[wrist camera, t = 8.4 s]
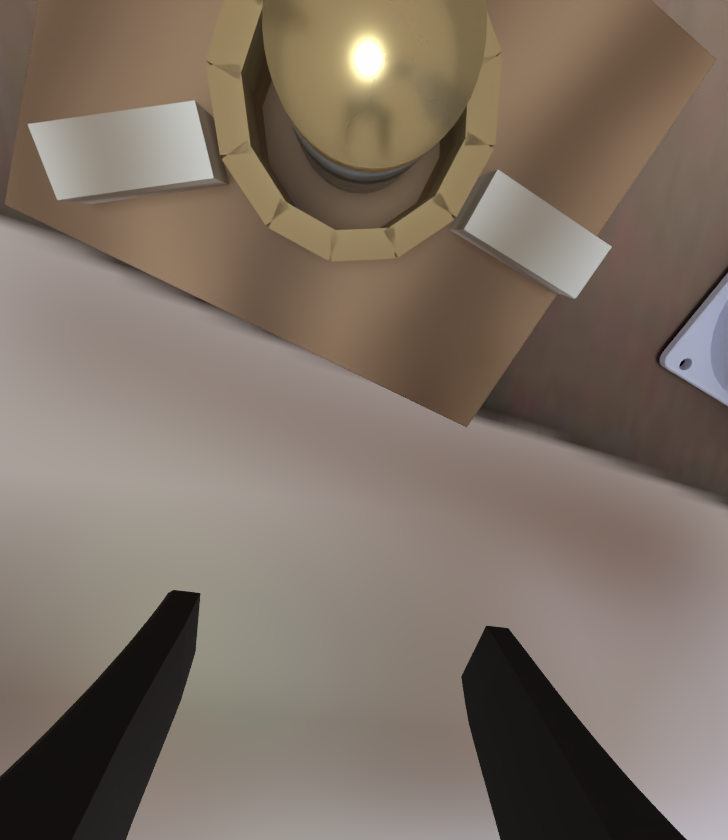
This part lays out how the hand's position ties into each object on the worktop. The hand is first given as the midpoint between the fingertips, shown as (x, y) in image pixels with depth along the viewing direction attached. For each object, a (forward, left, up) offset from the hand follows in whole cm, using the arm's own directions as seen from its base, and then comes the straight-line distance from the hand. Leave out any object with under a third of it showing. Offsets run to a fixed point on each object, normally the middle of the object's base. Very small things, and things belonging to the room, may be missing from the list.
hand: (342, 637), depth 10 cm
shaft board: (+5, -11, -9) cm, 15 cm away
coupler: (+5, -11, -8) cm, 15 cm away
